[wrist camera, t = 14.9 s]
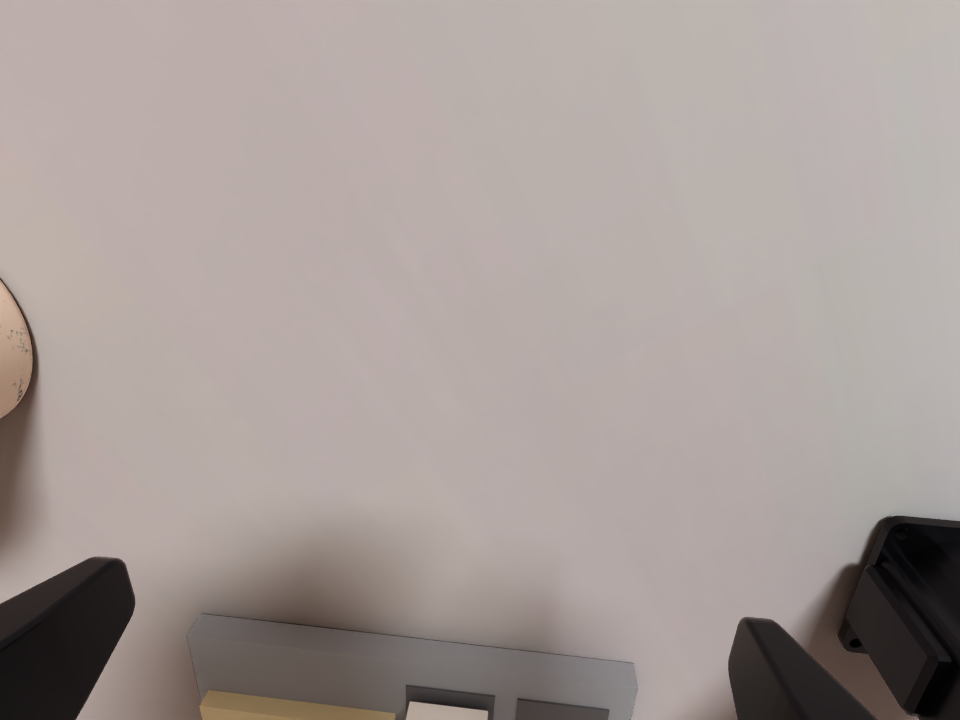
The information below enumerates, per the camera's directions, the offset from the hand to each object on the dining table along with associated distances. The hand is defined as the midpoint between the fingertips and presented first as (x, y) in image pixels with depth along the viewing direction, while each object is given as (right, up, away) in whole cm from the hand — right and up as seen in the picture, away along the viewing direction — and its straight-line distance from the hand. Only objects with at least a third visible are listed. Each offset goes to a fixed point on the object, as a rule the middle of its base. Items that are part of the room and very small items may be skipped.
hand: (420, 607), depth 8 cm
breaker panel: (-3, -15, +21) cm, 26 cm away
